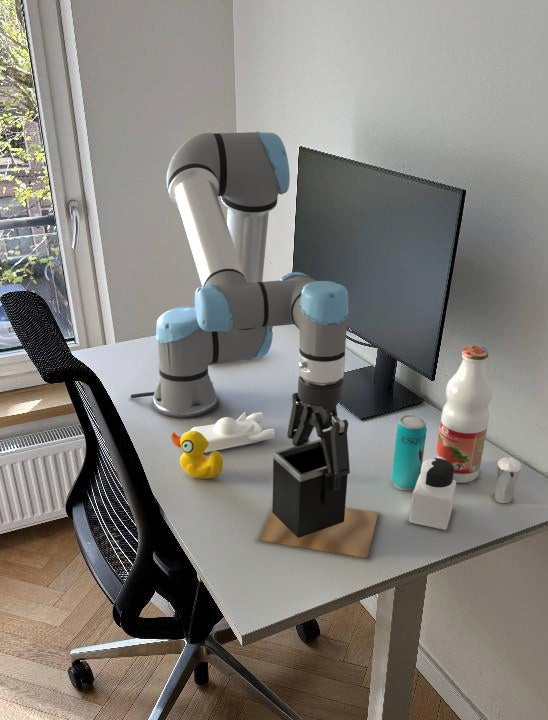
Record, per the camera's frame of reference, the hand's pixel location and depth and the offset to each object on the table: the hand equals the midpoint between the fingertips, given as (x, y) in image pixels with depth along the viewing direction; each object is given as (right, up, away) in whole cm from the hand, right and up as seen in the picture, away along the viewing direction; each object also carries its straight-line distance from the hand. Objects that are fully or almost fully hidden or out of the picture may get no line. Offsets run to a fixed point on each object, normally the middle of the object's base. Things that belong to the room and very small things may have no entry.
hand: (315, 489), depth 137 cm
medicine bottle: (+23, -6, +9) cm, 25 cm away
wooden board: (+1, -7, +5) cm, 9 cm away
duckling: (-23, +2, +20) cm, 31 cm away
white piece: (-19, +9, +32) cm, 39 cm away
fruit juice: (+31, +2, +24) cm, 39 cm away
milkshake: (+39, -3, +15) cm, 42 cm away
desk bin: (-5, -1, -3) cm, 6 cm away
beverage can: (+19, 0, +19) cm, 27 cm away
